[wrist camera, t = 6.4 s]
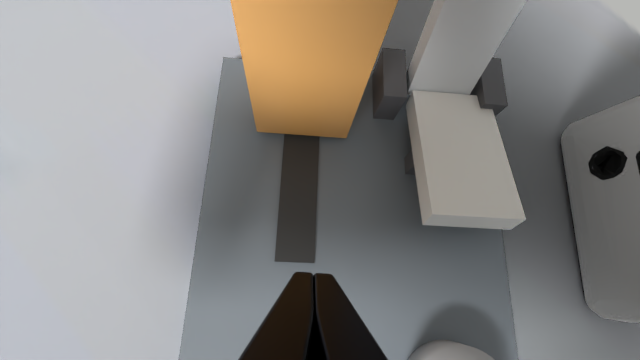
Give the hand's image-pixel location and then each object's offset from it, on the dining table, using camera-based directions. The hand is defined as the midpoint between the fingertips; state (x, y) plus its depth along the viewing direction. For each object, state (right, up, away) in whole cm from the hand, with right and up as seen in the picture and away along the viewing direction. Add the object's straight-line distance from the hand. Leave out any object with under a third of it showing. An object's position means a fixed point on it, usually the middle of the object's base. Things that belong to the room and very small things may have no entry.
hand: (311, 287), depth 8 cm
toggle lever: (+6, +7, +8) cm, 12 cm away
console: (+2, -1, +8) cm, 8 cm away
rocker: (+6, +3, +7) cm, 9 cm away
